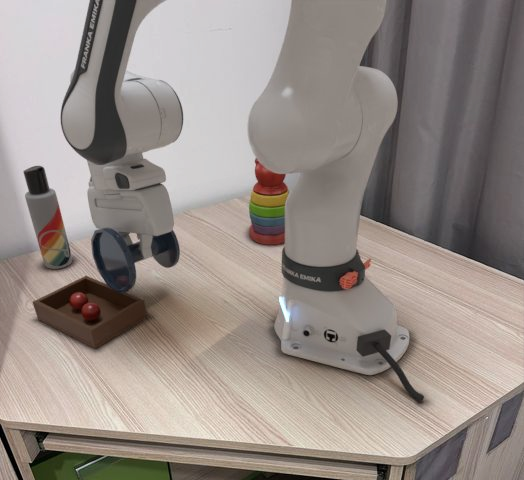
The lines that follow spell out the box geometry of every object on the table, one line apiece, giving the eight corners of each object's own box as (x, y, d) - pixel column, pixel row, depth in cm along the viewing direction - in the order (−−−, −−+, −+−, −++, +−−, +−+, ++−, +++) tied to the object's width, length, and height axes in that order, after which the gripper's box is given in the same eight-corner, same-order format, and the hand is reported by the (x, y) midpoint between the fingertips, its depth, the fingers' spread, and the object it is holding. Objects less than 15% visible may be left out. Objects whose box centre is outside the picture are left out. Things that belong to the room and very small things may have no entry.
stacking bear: (298, 228, 125) (300, 150, 114) (289, 247, 117) (290, 164, 106) (253, 225, 127) (251, 147, 116) (242, 243, 119) (238, 161, 109)
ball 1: (94, 304, 96) (87, 304, 98) (85, 288, 95) (77, 288, 97) (80, 313, 94) (72, 313, 97) (70, 298, 93) (63, 298, 95)
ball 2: (105, 310, 92) (102, 303, 94) (86, 304, 90) (84, 297, 93) (97, 326, 93) (94, 319, 95) (79, 321, 91) (77, 313, 93)
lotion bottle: (64, 270, 110) (38, 172, 98) (39, 268, 111) (10, 171, 99) (77, 258, 114) (54, 163, 103) (53, 256, 115) (27, 161, 104)
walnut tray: (147, 317, 95) (144, 299, 93) (95, 348, 88) (91, 330, 85) (90, 292, 103) (86, 275, 101) (37, 319, 95) (32, 301, 93)
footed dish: (171, 208, 91) (115, 226, 84) (190, 271, 95) (137, 293, 88) (138, 215, 99) (83, 232, 92) (156, 272, 103) (105, 292, 96)
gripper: (71, 178, 93) (92, 255, 99) (137, 178, 79) (157, 268, 85) (103, 171, 97) (122, 246, 103) (171, 170, 83) (188, 256, 89)
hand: (138, 256), depth 94 cm, fingers closed on footed dish, 3 cm apart
